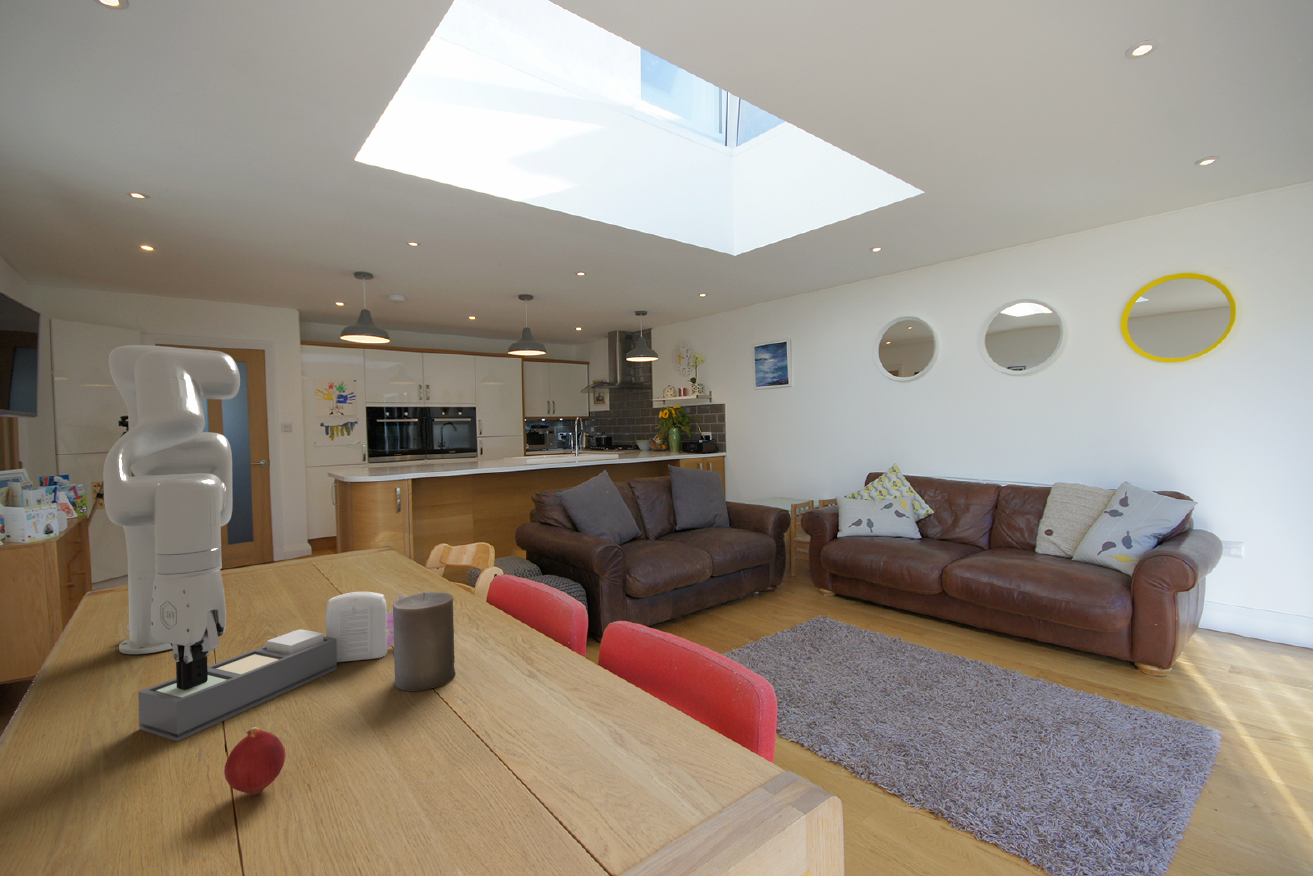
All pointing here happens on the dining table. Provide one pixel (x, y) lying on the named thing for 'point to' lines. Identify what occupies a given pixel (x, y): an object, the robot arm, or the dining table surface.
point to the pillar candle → (423, 641)
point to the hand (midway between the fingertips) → (192, 685)
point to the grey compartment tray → (232, 691)
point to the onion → (255, 762)
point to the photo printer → (358, 625)
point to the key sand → (247, 664)
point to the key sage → (180, 693)
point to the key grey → (295, 641)
